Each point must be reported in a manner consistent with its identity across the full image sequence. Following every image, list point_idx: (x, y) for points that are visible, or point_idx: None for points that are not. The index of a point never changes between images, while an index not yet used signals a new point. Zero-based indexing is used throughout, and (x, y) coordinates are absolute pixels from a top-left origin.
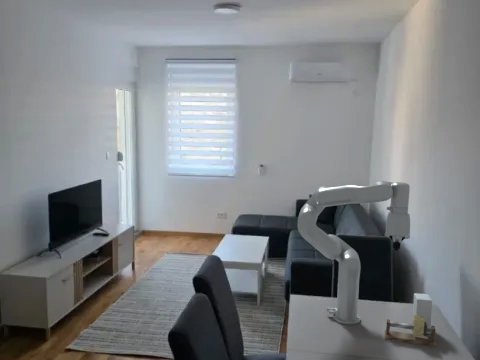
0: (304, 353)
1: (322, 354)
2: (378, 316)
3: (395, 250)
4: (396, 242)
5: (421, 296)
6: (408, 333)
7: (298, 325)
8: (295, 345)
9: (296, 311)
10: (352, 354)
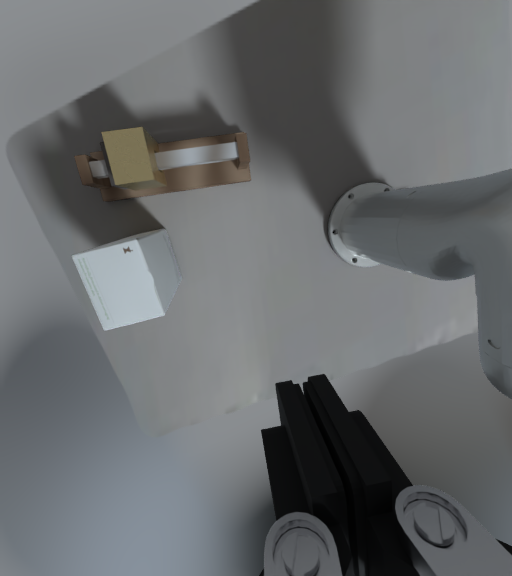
0: None
1: None
2: (281, 289)
3: (312, 376)
4: (358, 496)
5: (125, 284)
6: (180, 188)
7: (495, 110)
8: None
9: None
10: None
